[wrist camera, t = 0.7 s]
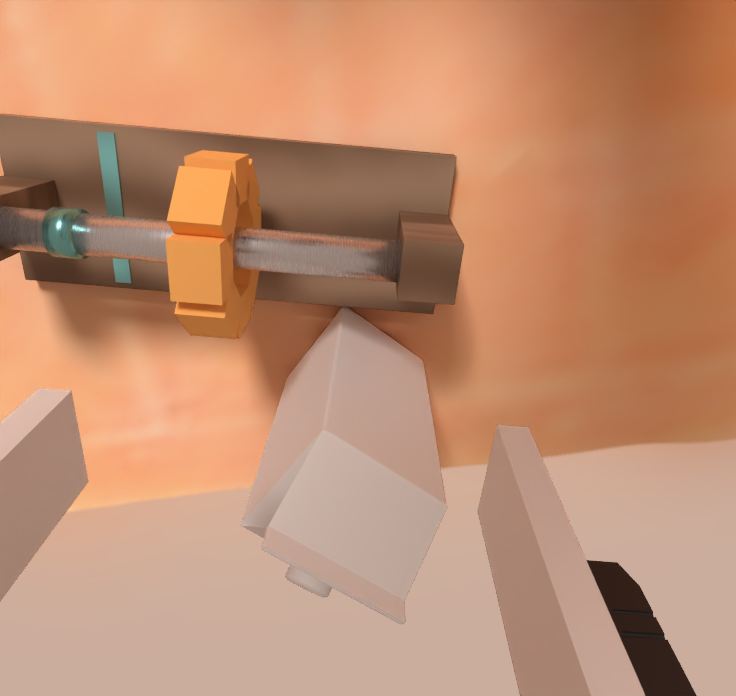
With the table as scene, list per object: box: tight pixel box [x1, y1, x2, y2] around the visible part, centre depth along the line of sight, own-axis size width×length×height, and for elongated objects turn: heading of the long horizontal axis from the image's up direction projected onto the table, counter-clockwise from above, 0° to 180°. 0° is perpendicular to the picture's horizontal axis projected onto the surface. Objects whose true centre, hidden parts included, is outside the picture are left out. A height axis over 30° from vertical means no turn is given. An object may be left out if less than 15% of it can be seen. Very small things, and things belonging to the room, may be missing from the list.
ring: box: [166, 150, 261, 339], centre depth 29 cm, size 9×2×9 cm, turn 175°
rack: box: [0, 114, 464, 314], centre depth 31 cm, size 10×27×8 cm, turn 85°
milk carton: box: [241, 306, 447, 624], centre depth 30 cm, size 7×7×19 cm
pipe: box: [0, 206, 402, 283], centre depth 28 cm, size 3×24×3 cm, turn 85°
